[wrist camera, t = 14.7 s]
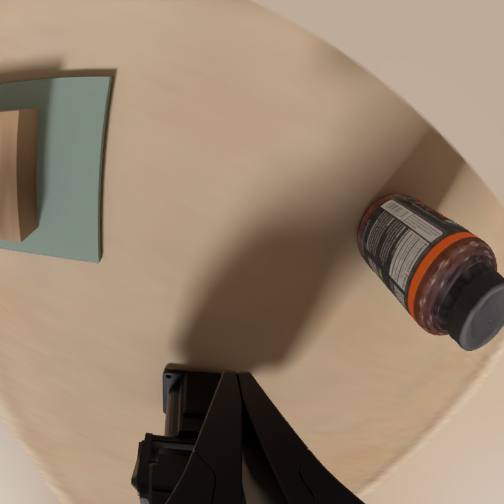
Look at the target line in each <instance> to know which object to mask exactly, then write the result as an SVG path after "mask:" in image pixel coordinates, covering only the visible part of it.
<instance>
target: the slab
mask: <svg viewBox="0 0 504 504" xmlns="http://www.w3.org/2000/svg"><path fill="white" fill-rule="evenodd" d="M39 112H40V108H35V109H18V110H5V111H0V240H7V241H14V242H20V243H21V242H22V241H23V240H24V239H26V238H27V237H28V236H29V235H30V234H31V233H32V232H34V231H35V230H36V229H37V228H38V216H37V192H36V161H37V137H38V123H39Z"/></svg>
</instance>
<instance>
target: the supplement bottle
mask: <svg viewBox="0 0 504 504" xmlns="http://www.w3.org/2000/svg"><path fill="white" fill-rule="evenodd" d="M357 238H358V247H359V250H360V253H361V255H362V257H363V258H364V260H365V261H366V263H367V264H368V265H369V266H370V268H371V269H372V270H373V271H374V272H375V273H376V274H377V276H378V277H379V278H380V279H381V280H382V281H383V283H384V284H385V285H386V286H387V287H388V289H389V290H390V291H391V292H392V293H393V294H394V296H395V297H396V298H397V299H398V300H399V302H400V303H401V304H402V305H403V306H404V308H405V309H406V310H407V311H408V313H409V314H410V315H411V316H412V317H413V318H414V320H415V321H416V322H417V323H418V324H419V325H420V326H421V327H422V328H423V329H424V330H425V331H427V332H428V333H431V334H433V335H448V334H449V335H450V336H451V338H452V339H454V340H455V341H456V342H457V343H458V344H459V346H460V347H461V348H462V349H464V350H466V351H472V350H476V349H478V348H480V347H482V346H484V345H485V344H487V343H488V342H489V341H490V340H492V339H493V338H494V337H495V336H496V334H497V333H498V332H499V331H500V330H501V328H502V327H503V326H504V278H503V277H502V276H501V275H500V274H499V273H498V272H497V263H496V258H495V255H494V253H493V251H492V250H491V248H490V247H489V245H488V244H486V243H485V241H483V240H481V239H480V238H478V237H477V236H475V235H474V234H472V233H471V232H469V231H468V230H466V229H465V228H463V227H462V226H460V225H459V224H457V223H455V222H454V221H452V220H450V219H448V218H447V217H445V216H443V215H442V214H440V213H438V212H437V211H435V210H433V209H432V208H430V207H428V206H426V205H425V204H423V203H422V202H420V201H418V200H416V199H414V198H412V197H409V196H407V195H403V194H391V195H388V196H385V197H383V198H382V199H380V200H378V201H376V202H375V203H374V204H373V205H372V206H371V207H370V208H369V209H368V210H367V212H366V214H365V215H364V216H363V219H362V221H361V223H360V226H359V230H358V237H357Z"/></svg>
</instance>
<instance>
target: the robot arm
mask: <svg viewBox="0 0 504 504" xmlns="http://www.w3.org/2000/svg"><path fill="white" fill-rule="evenodd" d="M163 412H164V413H165V414H166V419H165V434H164V436H160V435H153V434H152V433H146V435H145V440H142V442H139V448H138V456H137V461H136V465H135V468H134V472H133V475H132V479H131V484H132V485H133V487H134V488H135V489H136V490H137V491H138V496H140V503H141V504H365V503H364V502H363V501H361V500H360V499H359V498H358V497H357V496H355V495H354V494H353V493H352V492H351V491H350V490H348V489H347V488H346V487H345V486H344V485H343V484H342V483H341V482H339V481H338V480H337V479H336V478H335V477H334V476H333V475H332V474H331V473H330V472H329V471H328V470H327V469H326V468H325V467H324V466H323V465H322V464H321V463H320V461H319V460H318V459H317V458H316V457H315V456H314V454H313V453H312V452H311V451H310V450H308V447H307V446H306V445H305V444H304V442H303V441H302V440H301V439H300V437H299V436H298V435H297V434H296V432H295V431H294V430H293V429H292V427H291V426H290V425H289V423H288V422H287V421H286V420H285V418H284V417H283V416H282V414H281V413H280V412H279V411H278V409H277V408H276V407H275V405H274V404H273V403H272V401H271V400H270V399H269V397H268V396H267V395H266V393H265V392H264V391H263V389H262V388H261V387H260V385H259V384H258V383H257V381H256V380H255V379H254V377H253V376H252V374H251V373H249V372H237V373H236V372H235V371H224V372H223V373H222V374H211V373H198V372H187V371H177V370H165V371H164V372H163Z"/></svg>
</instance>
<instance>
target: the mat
mask: <svg viewBox="0 0 504 504" xmlns="http://www.w3.org/2000/svg"><path fill="white" fill-rule="evenodd" d="M112 78H113V77H66V78H50V79H38V80H27V81H19V82H11V83H4V84H0V111H5V110H18V109H35V108H40V112H39V123H38V137H37V161H36V192H37V216H38V228H37V229H36V230H35V231H34V232H32V233H31V234H30V235H29V236H28V237H27V238H26V239H24V240H23V241H22V242H21V243H20V242H14V241H7V240H0V248H1V249H7V250H13V251H19V252H26V253H32V254H39V255H45V256H52V257H59V258H65V259H72V260H79V261H87V262H94V263H99V262H100V260H101V251H100V199H101V175H102V160H103V147H104V137H105V127H106V119H107V111H108V103H109V96H110V90H111V84H112Z"/></svg>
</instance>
